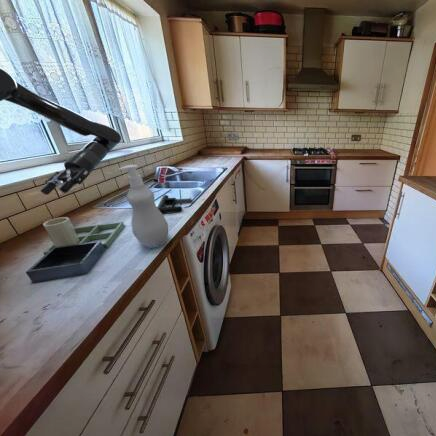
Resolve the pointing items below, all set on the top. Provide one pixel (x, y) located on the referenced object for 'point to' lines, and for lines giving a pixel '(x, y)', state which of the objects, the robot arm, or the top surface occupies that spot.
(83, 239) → the green divided tray
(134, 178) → the soap bottle
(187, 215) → the top surface
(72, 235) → the cup
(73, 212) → the top surface
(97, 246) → the black tray
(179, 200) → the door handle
